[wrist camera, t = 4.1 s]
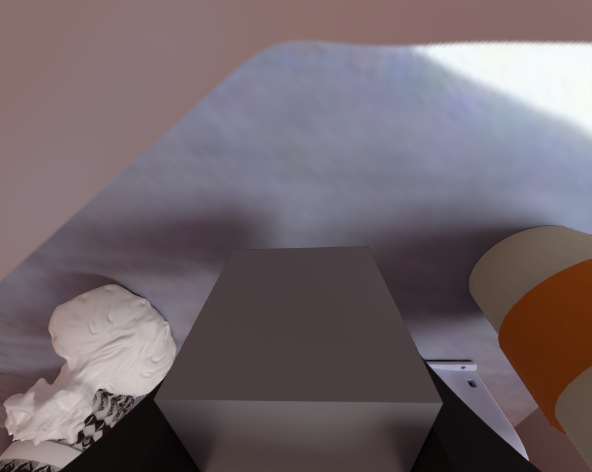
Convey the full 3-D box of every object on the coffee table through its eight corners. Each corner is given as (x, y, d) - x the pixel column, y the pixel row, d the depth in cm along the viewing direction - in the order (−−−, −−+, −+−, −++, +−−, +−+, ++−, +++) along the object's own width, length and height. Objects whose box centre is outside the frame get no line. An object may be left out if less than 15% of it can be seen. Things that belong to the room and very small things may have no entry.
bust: (112, 262, 23) (-47, 356, 17) (125, 274, 18) (-99, 417, 12) (180, 335, 29) (77, 429, 22) (205, 362, 23) (80, 495, 17)
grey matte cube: (368, 246, 11) (442, 402, 5) (357, 337, 14) (395, 501, 8) (233, 249, 11) (153, 399, 5) (252, 338, 14) (215, 494, 8)
